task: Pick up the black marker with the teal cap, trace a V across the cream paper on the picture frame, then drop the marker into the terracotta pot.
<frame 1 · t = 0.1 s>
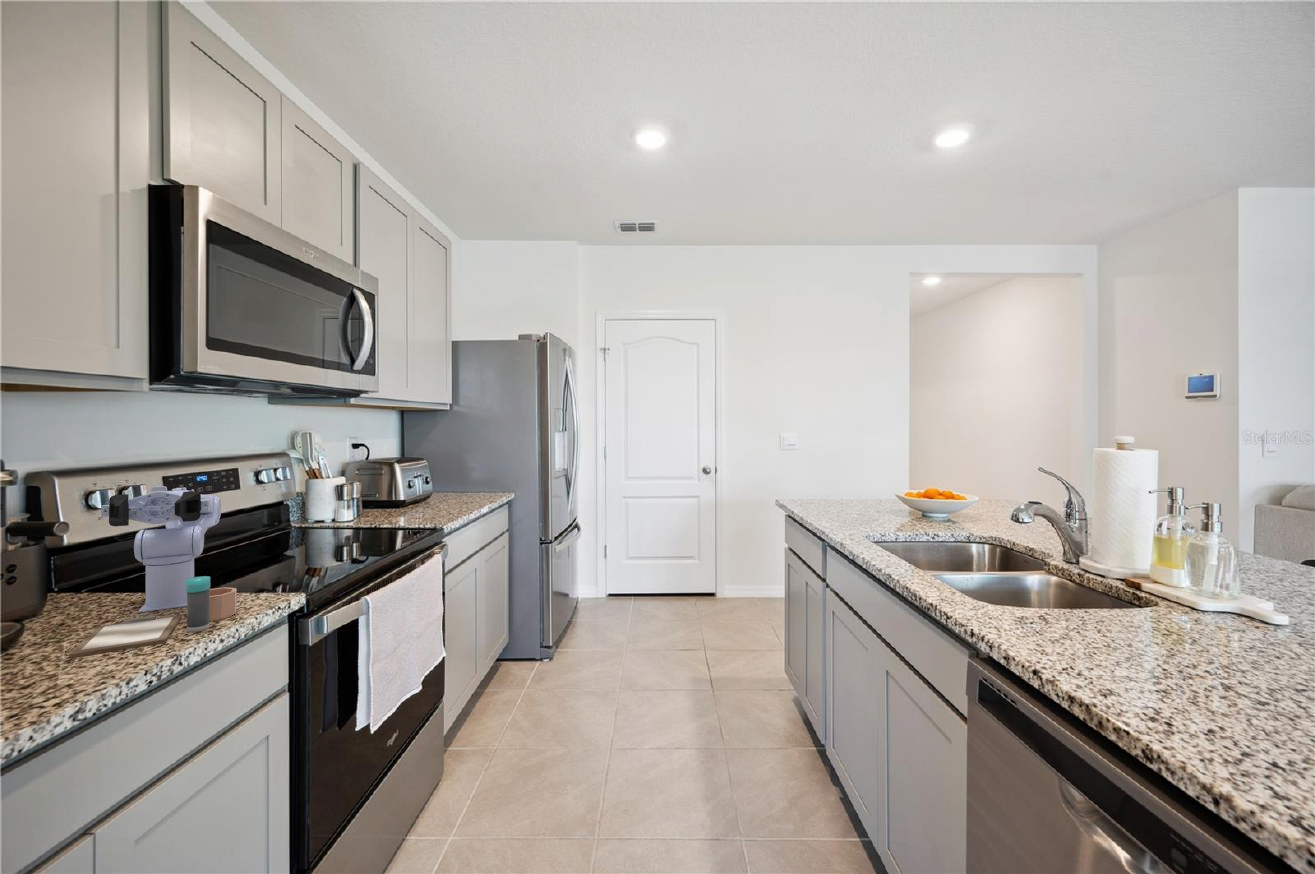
hand: (147, 510, 91), 21 cm above the counter, tool horizontal, fingers open, 7 cm apart
marker: (198, 629, 93), on the counter
picture frame: (131, 636, 90), on the counter
terracotta pot: (214, 616, 100), on the counter
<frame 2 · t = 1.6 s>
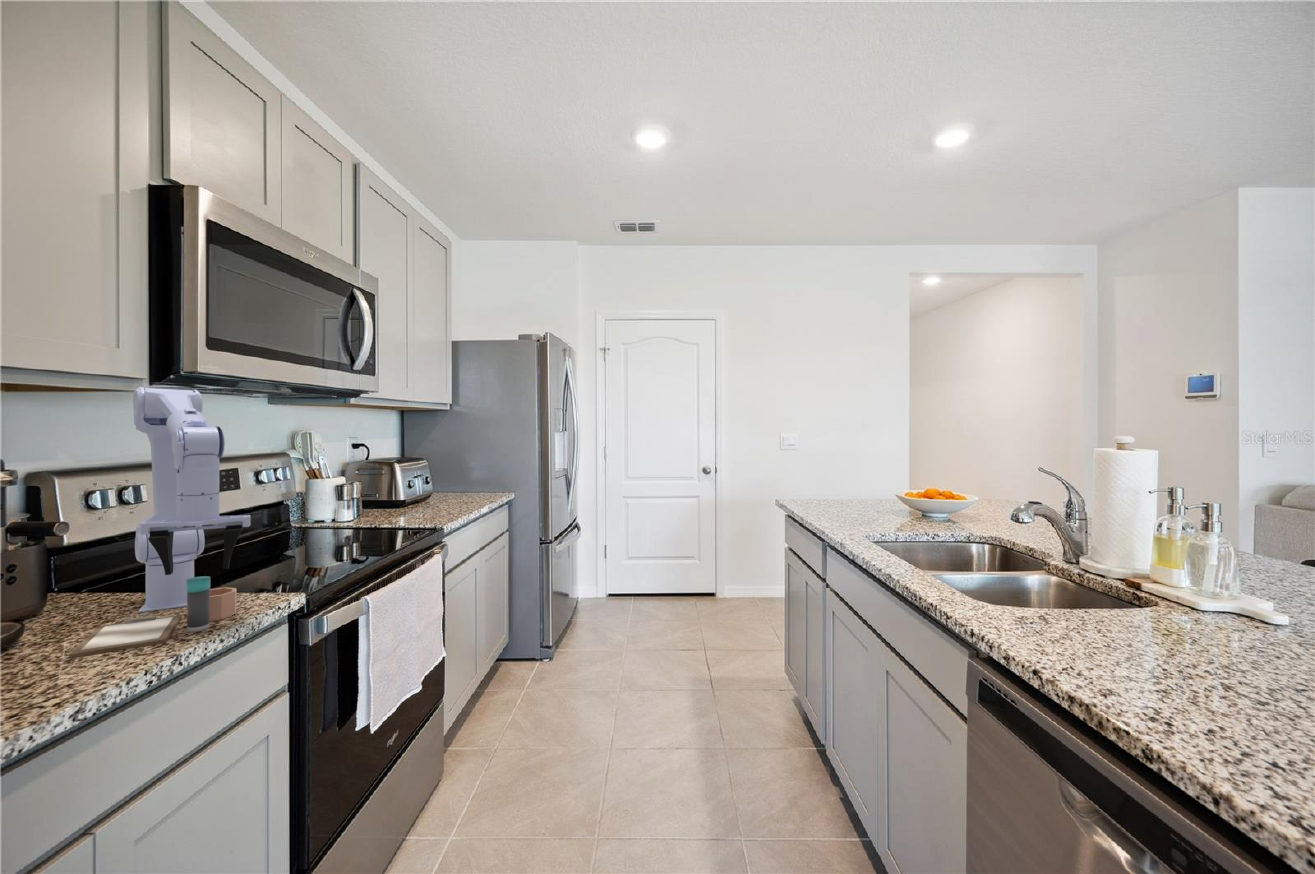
hand: (198, 570, 93), 10 cm above the counter, tool pointing down, fingers open, 7 cm apart
nothing on the counter moved.
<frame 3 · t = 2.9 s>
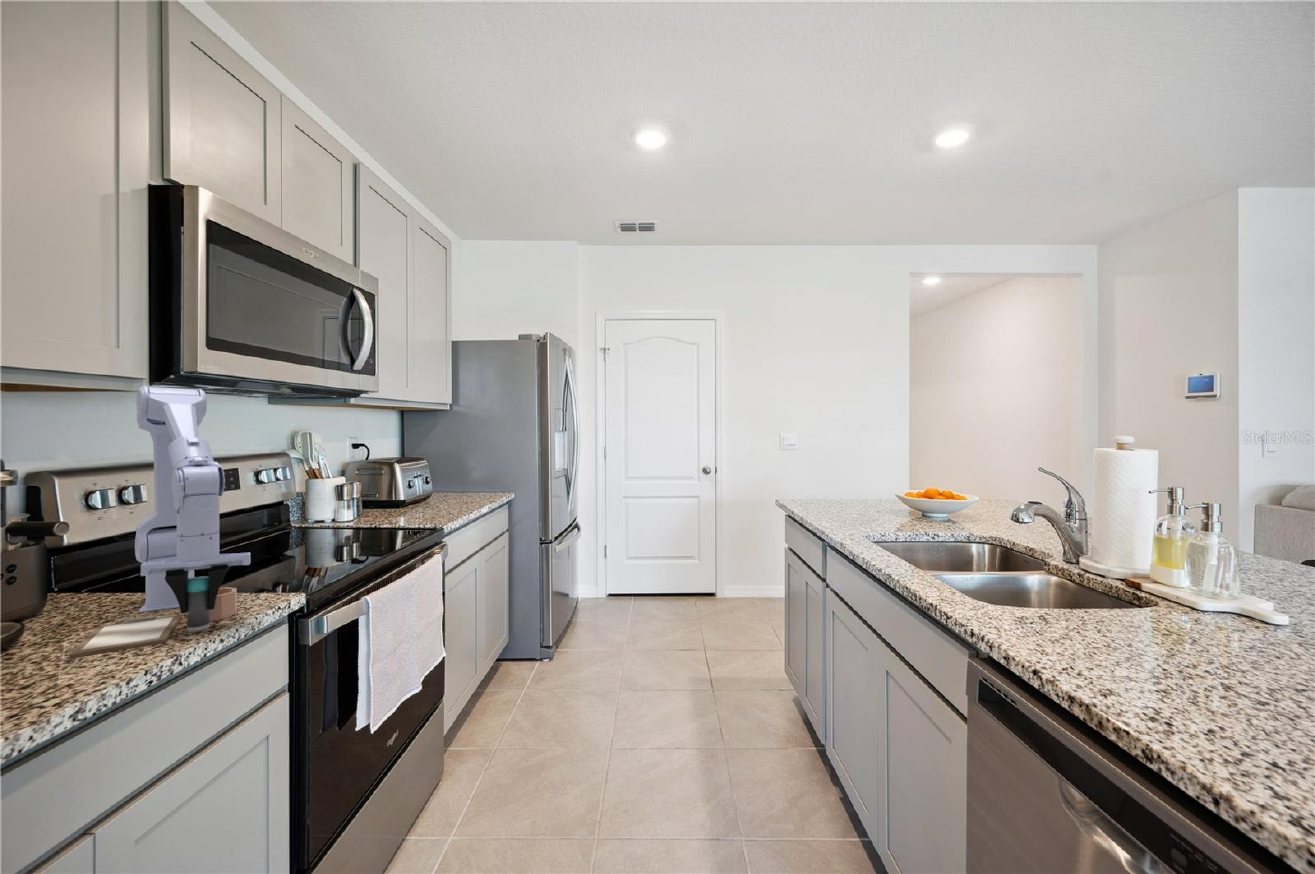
hand: (198, 610, 93), 3 cm above the counter, tool pointing down, fingers closed on marker, 3 cm apart
marker: (198, 629, 93), on the counter, touching gripper
when the fingers open (8 cm above the counter, at t = 11.0 s): marker drops 4 cm, resting on terracotta pot.
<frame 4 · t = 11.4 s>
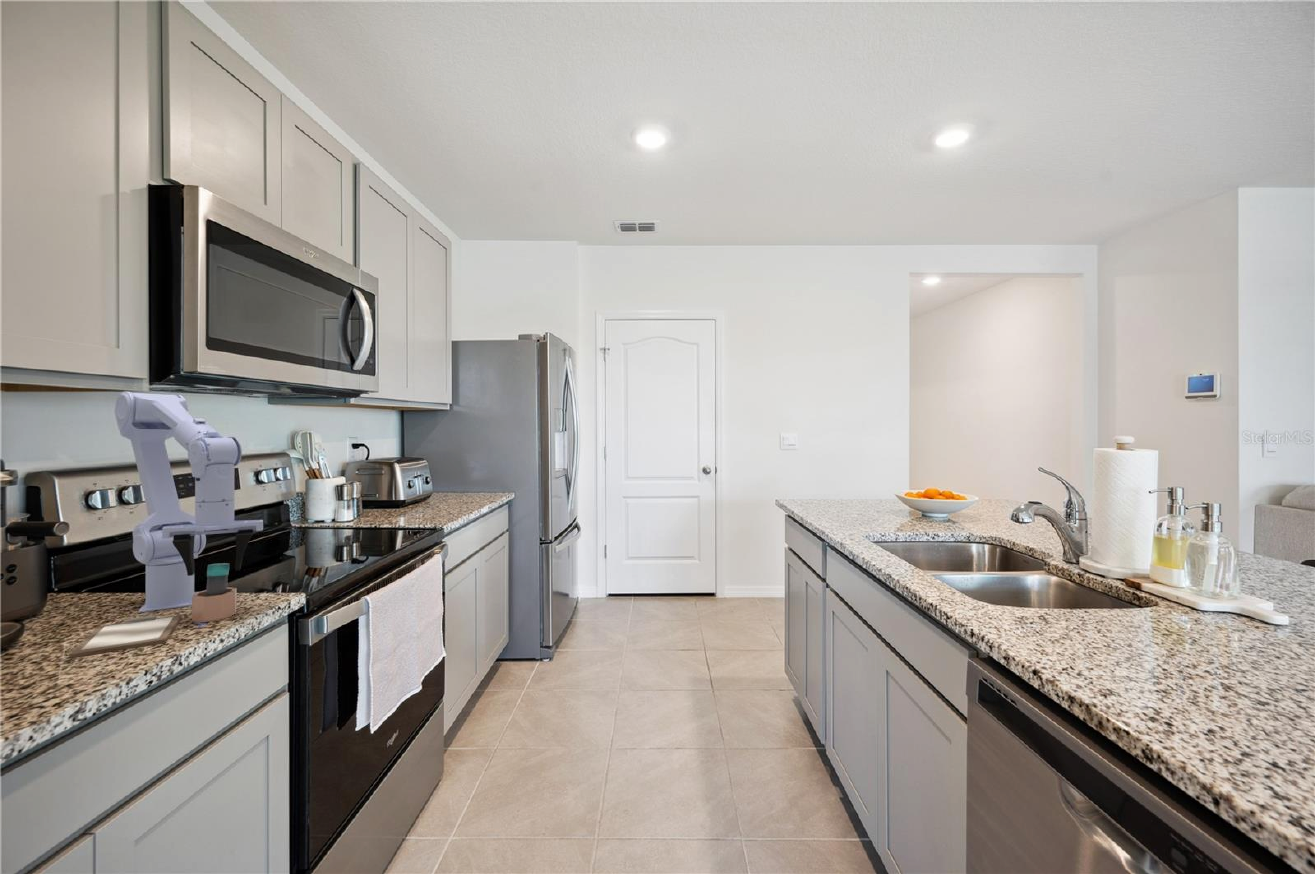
hand: (214, 571, 100), 8 cm above the counter, tool pointing down, fingers open, 6 cm apart
marker: (214, 612, 100), point 1 cm above the counter, tilted 6°, touching terracotta pot
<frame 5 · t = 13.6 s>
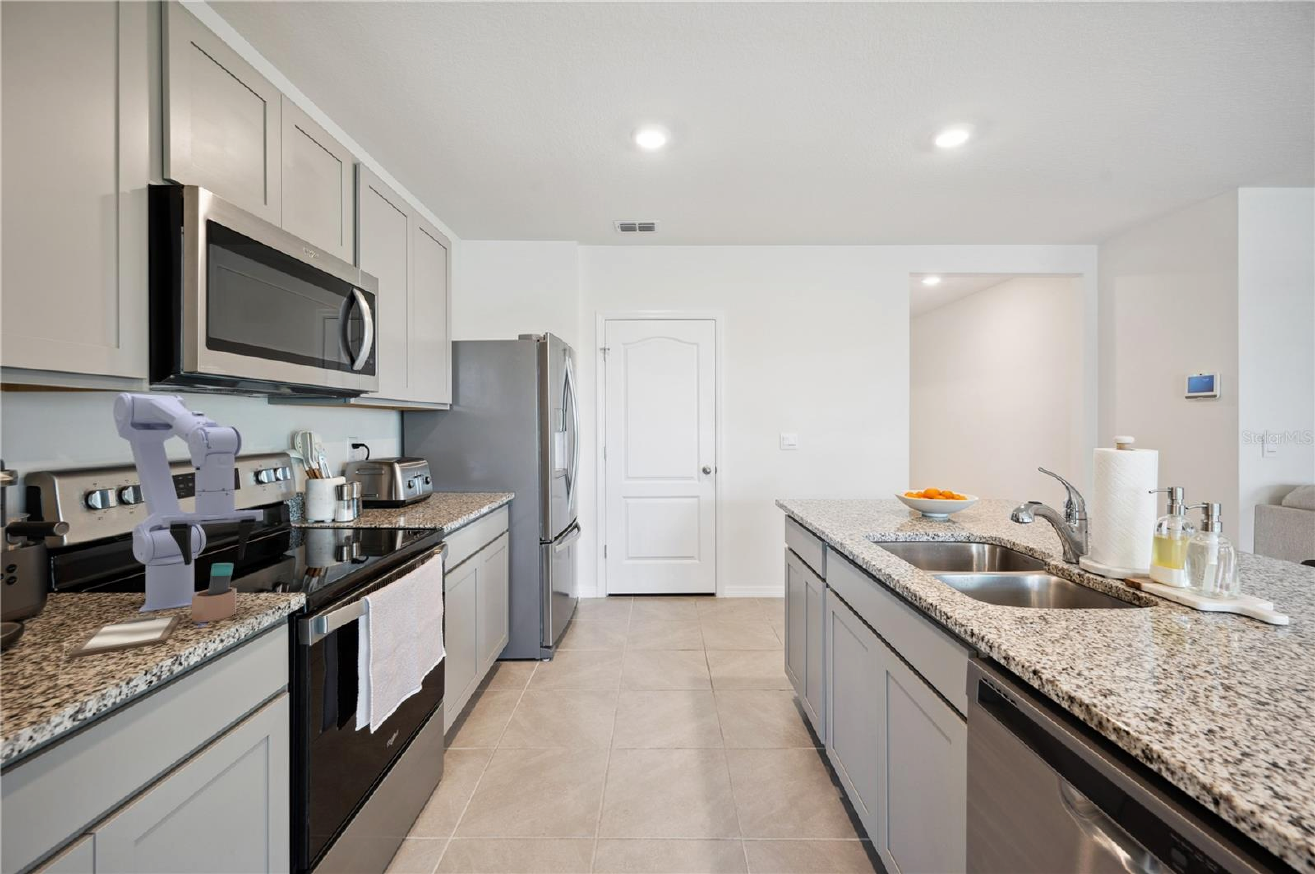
hand: (215, 561, 100), 10 cm above the counter, tool pointing down, fingers open, 7 cm apart
nothing on the counter moved.
at the end: marker 0.1 cm off-centre on the terracotta pot, point 0.7 cm above the terracotta pot's base; the gripper is holding nothing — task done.
